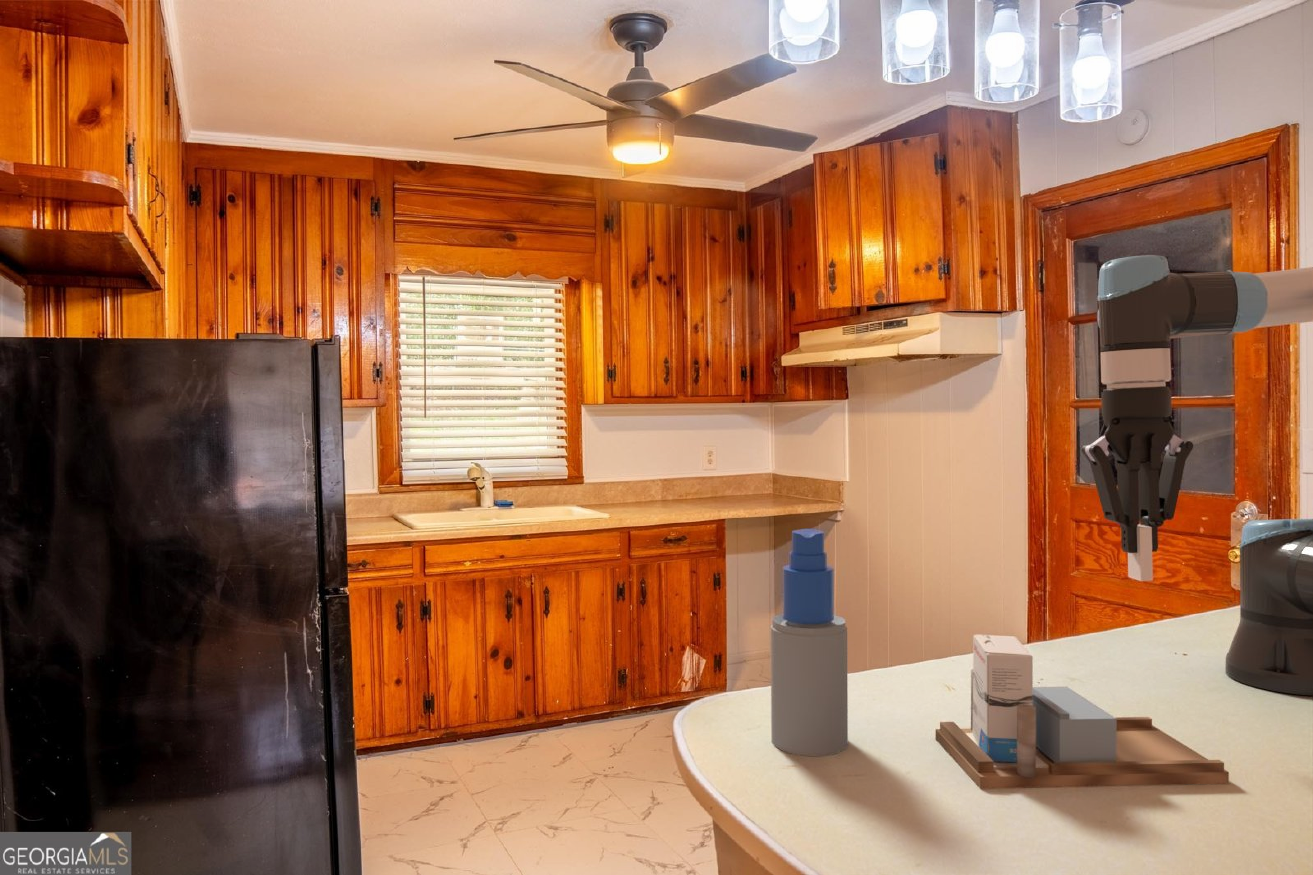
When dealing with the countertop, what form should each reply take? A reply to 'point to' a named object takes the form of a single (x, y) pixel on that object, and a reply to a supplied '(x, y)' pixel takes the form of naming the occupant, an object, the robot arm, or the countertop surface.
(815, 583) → the spray bottle
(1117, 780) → the tray
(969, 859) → the countertop surface
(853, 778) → the countertop surface
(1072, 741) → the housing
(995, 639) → the ink box
